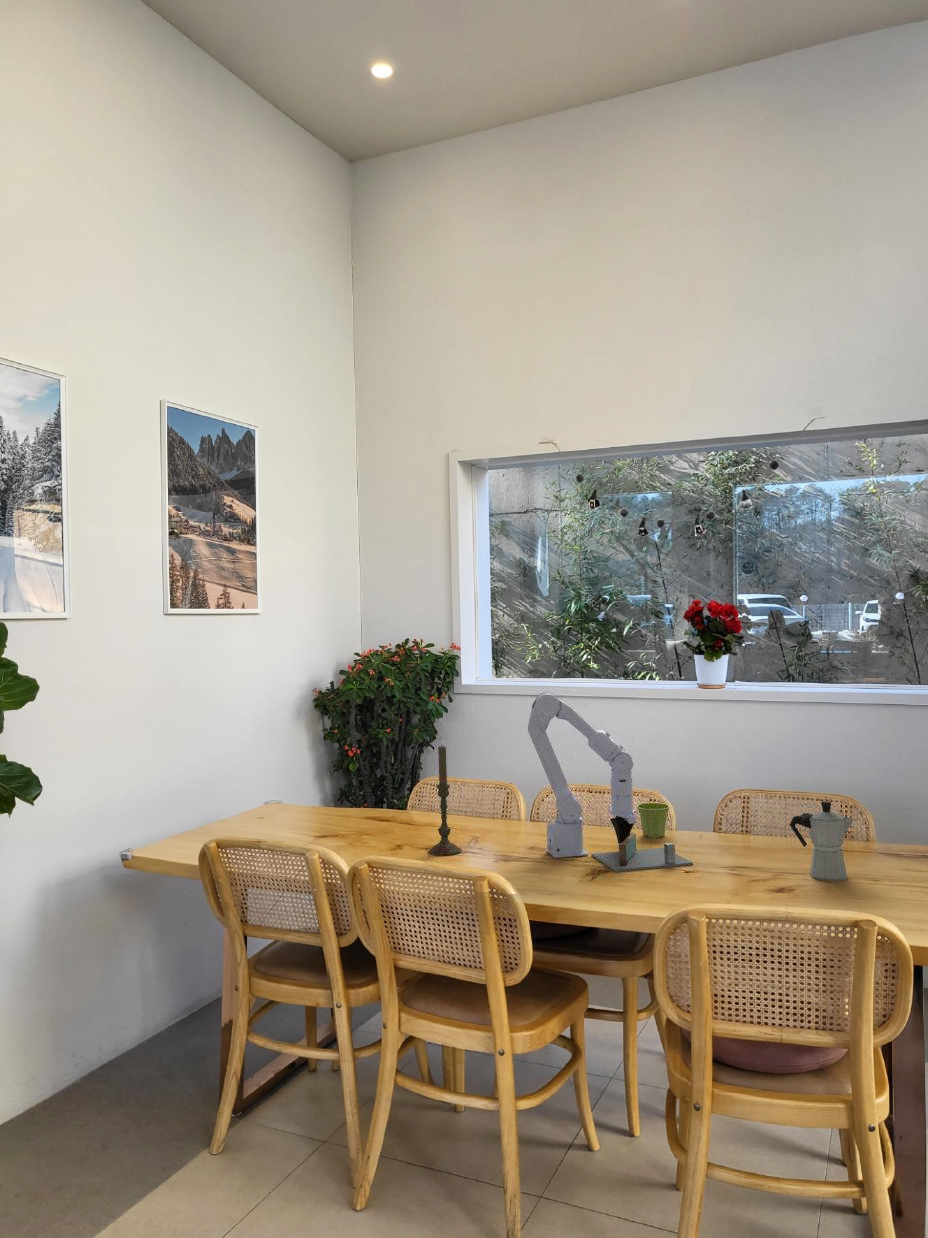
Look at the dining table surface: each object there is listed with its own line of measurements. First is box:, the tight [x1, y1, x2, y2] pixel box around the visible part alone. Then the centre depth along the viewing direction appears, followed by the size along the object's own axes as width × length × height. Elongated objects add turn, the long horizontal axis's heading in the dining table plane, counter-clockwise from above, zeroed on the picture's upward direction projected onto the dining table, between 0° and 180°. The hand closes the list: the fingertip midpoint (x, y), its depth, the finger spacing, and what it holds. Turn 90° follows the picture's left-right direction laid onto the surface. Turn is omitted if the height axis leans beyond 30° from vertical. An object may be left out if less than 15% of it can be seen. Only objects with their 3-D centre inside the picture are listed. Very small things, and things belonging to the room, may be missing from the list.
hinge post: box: [618, 843, 627, 866], centre depth 238 cm, size 2×2×6 cm
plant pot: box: [636, 802, 670, 839], centre depth 272 cm, size 9×9×9 cm
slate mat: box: [591, 847, 694, 873], centre depth 244 cm, size 21×17×1 cm
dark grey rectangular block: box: [663, 842, 676, 864], centre depth 239 cm, size 2×2×6 cm
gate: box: [622, 832, 637, 861], centre depth 245 cm, size 12×1×5 cm, turn 158°
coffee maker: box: [789, 800, 856, 882], centre depth 225 cm, size 15×9×18 cm, turn 77°
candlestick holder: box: [428, 743, 462, 857], centre depth 259 cm, size 9×9×30 cm
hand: (623, 845), depth 253 cm, fingers closed
